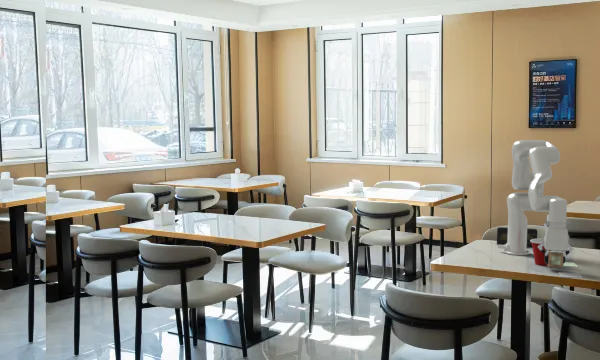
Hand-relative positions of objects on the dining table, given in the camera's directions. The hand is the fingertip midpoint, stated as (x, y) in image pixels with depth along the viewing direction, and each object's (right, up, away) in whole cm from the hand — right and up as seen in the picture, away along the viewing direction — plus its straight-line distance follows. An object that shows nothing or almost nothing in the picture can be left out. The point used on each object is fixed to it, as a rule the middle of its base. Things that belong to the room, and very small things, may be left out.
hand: (554, 263), depth 299 cm
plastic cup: (-1, -2, +13) cm, 13 cm away
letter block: (0, -1, 0) cm, 1 cm away
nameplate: (+3, +2, +61) cm, 61 cm away
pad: (+11, -2, +14) cm, 18 cm away
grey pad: (+3, -4, -9) cm, 11 cm away
